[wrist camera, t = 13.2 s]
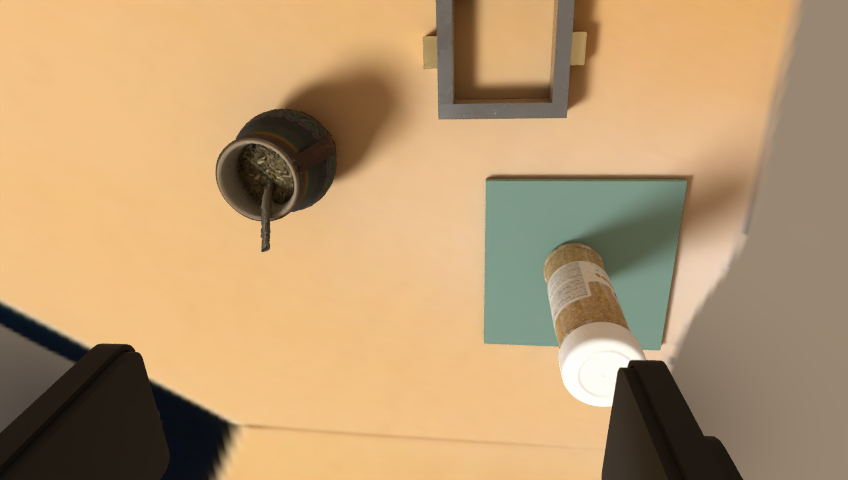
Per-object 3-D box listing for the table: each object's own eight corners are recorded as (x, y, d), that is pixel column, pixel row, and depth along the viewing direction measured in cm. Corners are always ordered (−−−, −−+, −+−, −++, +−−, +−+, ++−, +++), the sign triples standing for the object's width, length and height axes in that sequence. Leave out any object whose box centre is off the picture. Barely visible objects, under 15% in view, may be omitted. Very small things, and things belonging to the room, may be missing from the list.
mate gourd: (318, 86, 39) (265, 108, 30) (364, 180, 41) (327, 228, 32) (236, 124, 41) (161, 156, 31) (284, 212, 43) (228, 266, 34)
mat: (484, 339, 45) (484, 343, 45) (486, 178, 40) (486, 180, 39) (658, 346, 44) (660, 350, 43) (684, 179, 38) (687, 181, 38)
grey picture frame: (427, 114, 39) (424, 119, 37) (423, -17, 35) (419, -19, 33) (577, 112, 37) (582, 117, 35) (588, -24, 34) (593, -26, 32)
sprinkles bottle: (614, 275, 41) (665, 388, 29) (561, 303, 42) (588, 422, 30) (583, 229, 40) (623, 325, 28) (530, 259, 41) (545, 364, 29)
